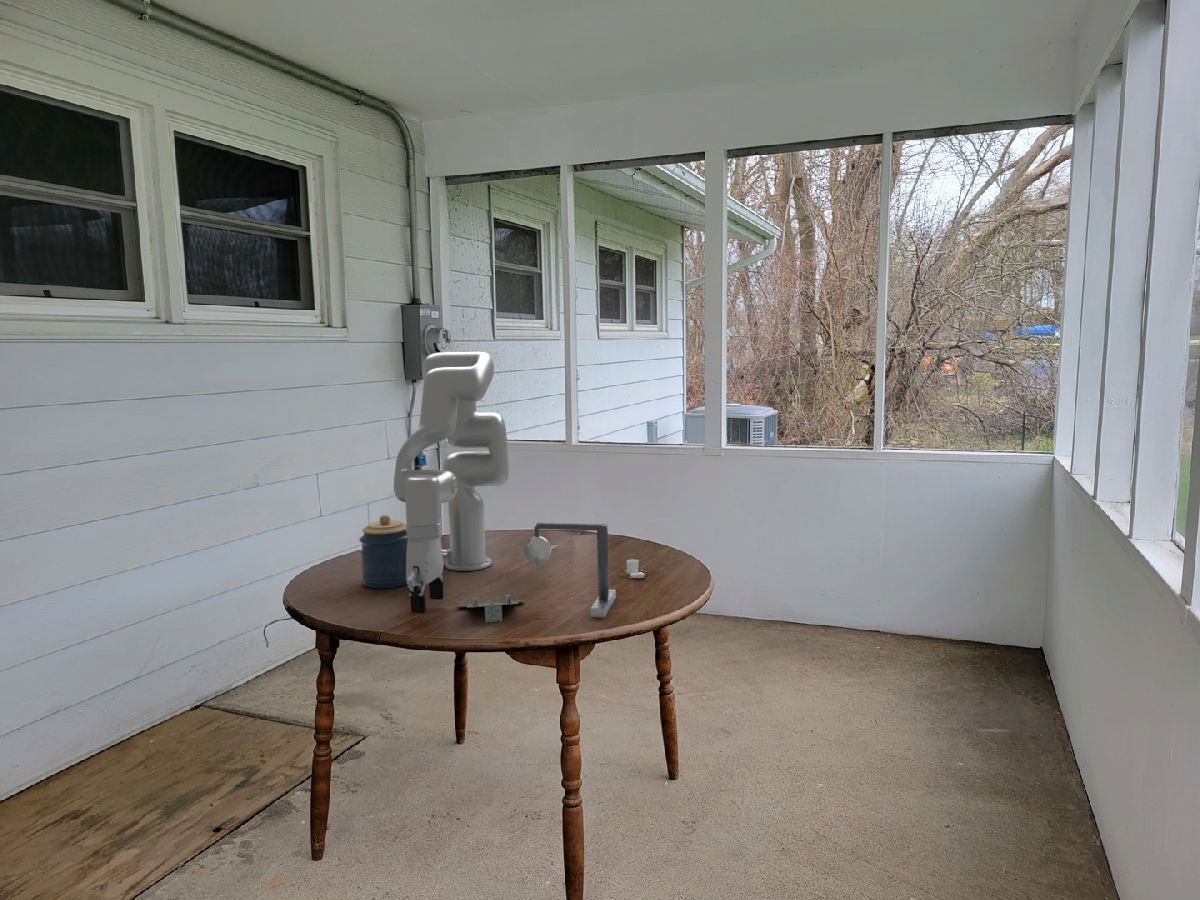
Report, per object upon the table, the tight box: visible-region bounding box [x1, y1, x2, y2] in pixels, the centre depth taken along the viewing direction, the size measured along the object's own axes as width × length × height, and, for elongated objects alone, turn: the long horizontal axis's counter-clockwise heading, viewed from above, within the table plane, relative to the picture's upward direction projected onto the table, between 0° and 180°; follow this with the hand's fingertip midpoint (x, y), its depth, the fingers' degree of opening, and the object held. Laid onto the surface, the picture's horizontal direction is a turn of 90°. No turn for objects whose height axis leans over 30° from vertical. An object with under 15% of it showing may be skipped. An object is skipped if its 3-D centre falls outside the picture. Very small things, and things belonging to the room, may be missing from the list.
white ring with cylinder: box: [626, 559, 645, 579], centre depth 203 cm, size 9×8×4 cm
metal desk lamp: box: [523, 522, 617, 619], centre depth 178 cm, size 20×14×19 cm
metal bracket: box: [457, 594, 525, 623], centre depth 176 cm, size 14×6×15 cm
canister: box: [358, 514, 408, 589], centre depth 200 cm, size 13×13×18 cm
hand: (427, 605), depth 175 cm, fingers open, 9 cm apart
